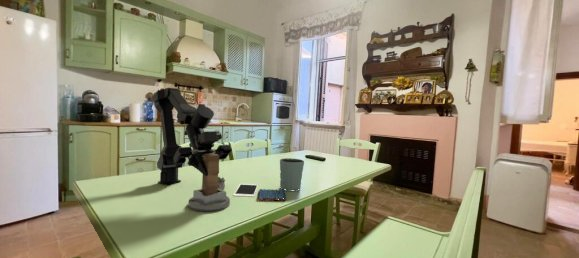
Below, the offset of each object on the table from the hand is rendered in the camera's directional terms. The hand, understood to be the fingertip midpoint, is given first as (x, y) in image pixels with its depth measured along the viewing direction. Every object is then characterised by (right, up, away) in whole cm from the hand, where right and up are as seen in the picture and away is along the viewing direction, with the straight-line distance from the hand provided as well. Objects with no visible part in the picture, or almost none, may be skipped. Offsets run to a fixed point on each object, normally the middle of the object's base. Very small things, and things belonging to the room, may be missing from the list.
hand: (212, 174), depth 83 cm
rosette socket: (-1, -10, +1) cm, 10 cm away
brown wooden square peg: (-1, -6, +1) cm, 7 cm away
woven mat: (+18, -11, +13) cm, 25 cm away
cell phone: (+8, -10, +19) cm, 23 cm away
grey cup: (+25, -10, +25) cm, 37 cm away
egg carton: (-5, -9, +22) cm, 24 cm away
